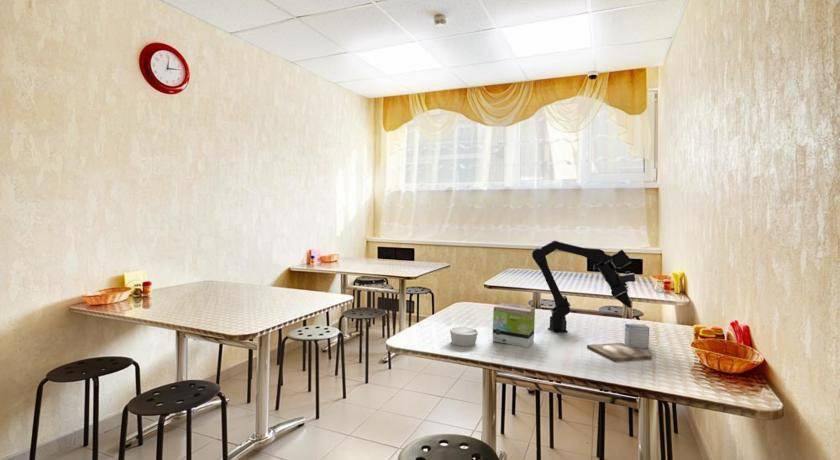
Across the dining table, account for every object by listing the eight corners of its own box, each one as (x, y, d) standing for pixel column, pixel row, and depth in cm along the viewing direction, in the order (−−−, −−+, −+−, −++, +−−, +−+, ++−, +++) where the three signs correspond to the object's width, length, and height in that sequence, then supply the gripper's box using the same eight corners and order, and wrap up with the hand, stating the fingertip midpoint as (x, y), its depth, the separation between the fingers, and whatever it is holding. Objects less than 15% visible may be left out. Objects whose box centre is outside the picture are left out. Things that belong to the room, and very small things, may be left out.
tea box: (491, 342, 174) (492, 306, 173) (499, 336, 183) (500, 302, 182) (528, 348, 167) (529, 310, 166) (534, 341, 176) (535, 306, 175)
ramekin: (476, 348, 165) (476, 335, 165) (448, 346, 167) (448, 333, 167) (478, 340, 176) (478, 327, 176) (451, 338, 178) (451, 326, 178)
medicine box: (644, 345, 174) (645, 324, 173) (648, 348, 169) (649, 327, 169) (624, 344, 174) (624, 323, 174) (628, 347, 170) (629, 326, 170)
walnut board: (614, 361, 153) (614, 357, 153) (586, 347, 169) (587, 344, 168) (651, 358, 157) (651, 355, 157) (621, 345, 172) (621, 342, 172)
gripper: (627, 266, 175) (649, 300, 172) (627, 263, 192) (647, 294, 189) (602, 279, 179) (623, 312, 176) (604, 275, 196) (623, 305, 193)
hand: (630, 305), depth 183 cm, fingers open, 9 cm apart
